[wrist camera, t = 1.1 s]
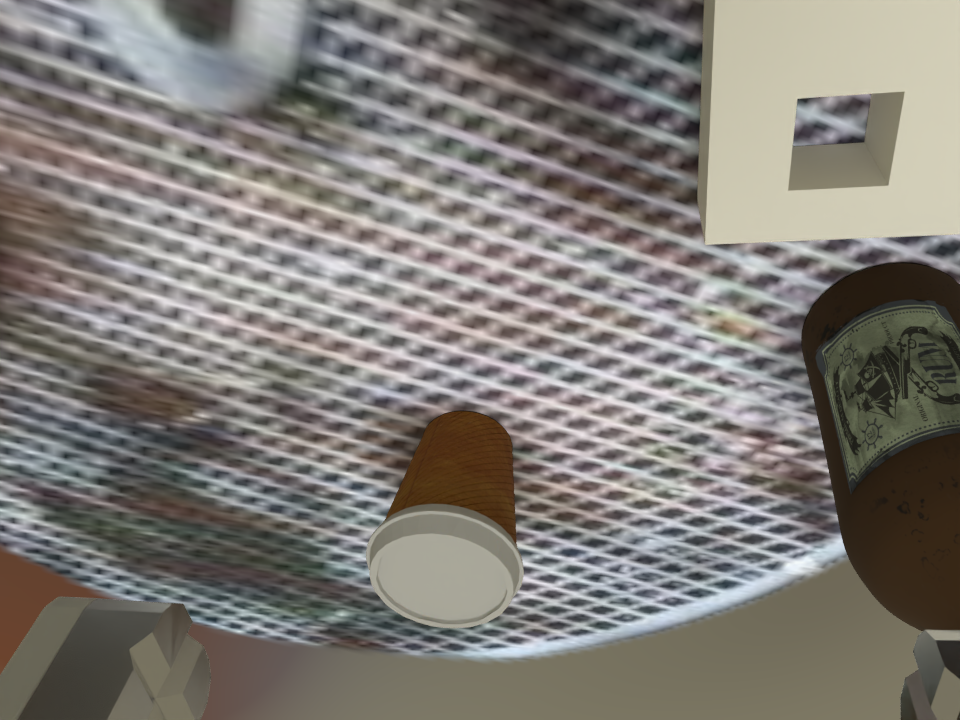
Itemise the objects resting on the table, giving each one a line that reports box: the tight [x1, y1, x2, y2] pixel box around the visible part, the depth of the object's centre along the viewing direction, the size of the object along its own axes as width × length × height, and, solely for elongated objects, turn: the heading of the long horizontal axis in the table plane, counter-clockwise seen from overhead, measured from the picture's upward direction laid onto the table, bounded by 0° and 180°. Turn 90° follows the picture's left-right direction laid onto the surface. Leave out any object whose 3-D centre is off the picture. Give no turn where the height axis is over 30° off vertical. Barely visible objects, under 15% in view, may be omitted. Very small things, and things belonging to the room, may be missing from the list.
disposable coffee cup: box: [366, 411, 524, 628], centre depth 56 cm, size 10×10×12 cm
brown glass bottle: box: [802, 263, 960, 631], centre depth 42 cm, size 11×11×25 cm
